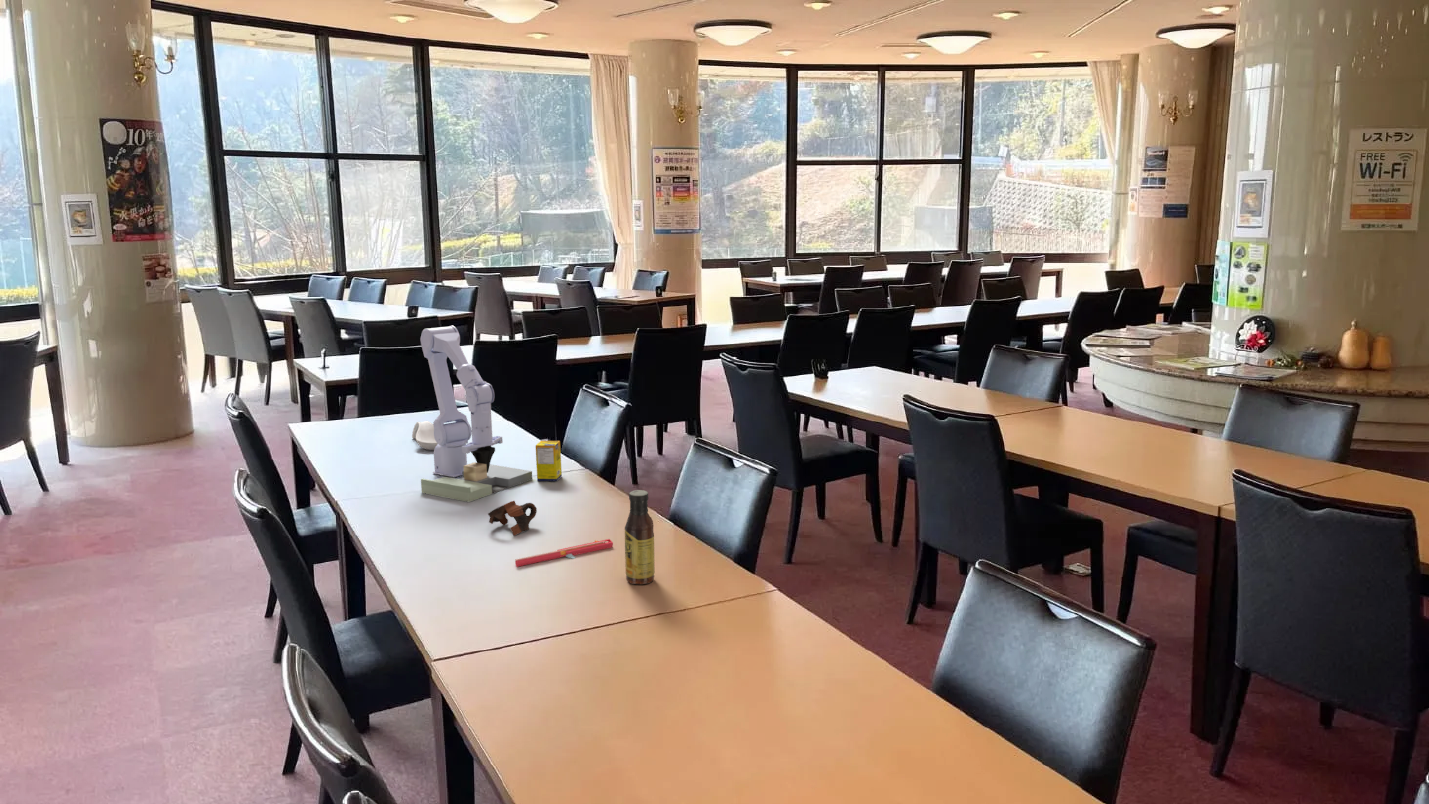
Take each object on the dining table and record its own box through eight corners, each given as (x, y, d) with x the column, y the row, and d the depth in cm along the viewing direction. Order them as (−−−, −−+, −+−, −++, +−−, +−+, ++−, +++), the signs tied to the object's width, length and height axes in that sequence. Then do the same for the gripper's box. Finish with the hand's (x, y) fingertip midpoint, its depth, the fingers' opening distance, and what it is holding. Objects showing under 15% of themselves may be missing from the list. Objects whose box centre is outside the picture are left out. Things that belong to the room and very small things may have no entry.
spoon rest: (458, 449, 335) (457, 428, 334) (423, 454, 329) (421, 433, 328) (434, 436, 355) (433, 416, 353) (401, 440, 348) (399, 420, 347)
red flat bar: (615, 553, 238) (606, 542, 241) (616, 546, 237) (607, 535, 240) (519, 574, 225) (511, 562, 228) (520, 566, 224) (512, 554, 228)
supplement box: (562, 476, 301) (560, 440, 299) (556, 481, 295) (555, 445, 293) (542, 475, 301) (540, 440, 299) (536, 481, 295) (535, 445, 293)
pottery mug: (504, 541, 245) (489, 510, 246) (495, 547, 254) (480, 517, 254) (547, 519, 252) (532, 490, 252) (537, 526, 260) (522, 497, 260)
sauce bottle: (625, 575, 220) (623, 487, 216) (654, 574, 221) (652, 486, 217) (625, 587, 214) (623, 496, 210) (655, 586, 214) (653, 495, 211)
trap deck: (421, 492, 285) (420, 479, 284) (486, 471, 307) (485, 458, 306) (469, 502, 276) (468, 487, 275) (532, 479, 298) (531, 466, 297)
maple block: (464, 479, 289) (463, 465, 288) (475, 475, 293) (474, 462, 292) (476, 481, 287) (475, 467, 286) (487, 477, 290) (486, 464, 290)
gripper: (474, 432, 282) (476, 480, 285) (509, 422, 294) (511, 468, 297) (455, 430, 285) (458, 476, 288) (491, 420, 298) (493, 465, 300)
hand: (484, 472), depth 293 cm, fingers closed
